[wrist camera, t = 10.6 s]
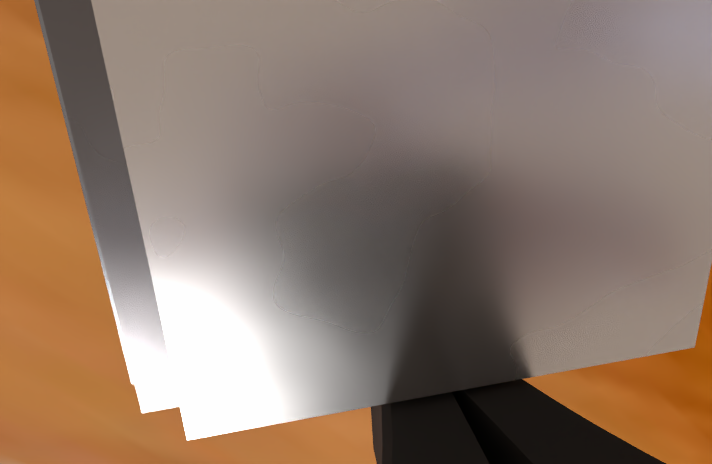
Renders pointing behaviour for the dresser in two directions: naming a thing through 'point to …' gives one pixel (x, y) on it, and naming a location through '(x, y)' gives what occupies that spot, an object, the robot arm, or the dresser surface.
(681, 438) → the dresser surface
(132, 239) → the base plate
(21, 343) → the dresser surface
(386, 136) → the block
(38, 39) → the dresser surface
